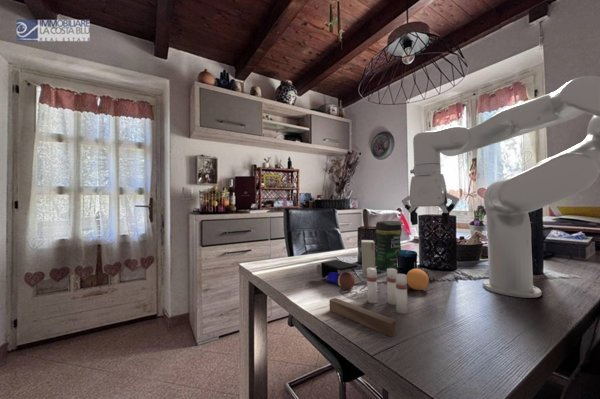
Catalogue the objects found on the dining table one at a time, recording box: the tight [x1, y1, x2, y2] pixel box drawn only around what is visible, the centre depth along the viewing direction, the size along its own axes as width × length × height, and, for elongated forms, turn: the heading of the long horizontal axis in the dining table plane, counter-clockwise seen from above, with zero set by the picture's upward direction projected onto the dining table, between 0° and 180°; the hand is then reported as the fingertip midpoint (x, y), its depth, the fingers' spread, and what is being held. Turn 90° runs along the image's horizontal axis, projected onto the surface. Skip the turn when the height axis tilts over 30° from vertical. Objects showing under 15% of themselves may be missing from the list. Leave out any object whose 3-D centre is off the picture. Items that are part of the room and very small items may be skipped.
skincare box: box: [360, 239, 376, 279], centre depth 87 cm, size 6×4×12 cm
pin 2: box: [395, 273, 409, 315], centre depth 58 cm, size 2×2×8 cm
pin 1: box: [366, 267, 378, 304], centre depth 64 cm, size 2×2×8 cm
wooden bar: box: [328, 297, 397, 338], centre depth 54 cm, size 2×16×2 cm, turn 40°
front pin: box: [386, 268, 398, 306], centre depth 63 cm, size 2×2×8 cm
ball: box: [406, 268, 430, 291], centre depth 72 cm, size 6×6×6 cm
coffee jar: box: [375, 220, 403, 271], centre depth 96 cm, size 10×8×19 cm
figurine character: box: [316, 259, 358, 290], centre depth 79 cm, size 7×8×15 cm
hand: (429, 225), depth 78 cm, fingers open, 8 cm apart
